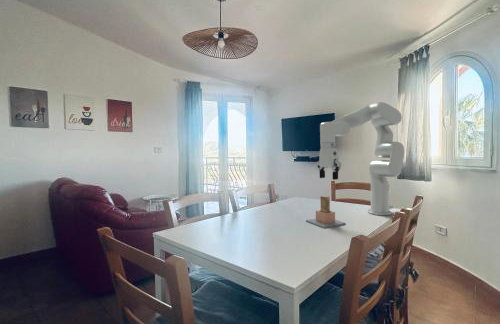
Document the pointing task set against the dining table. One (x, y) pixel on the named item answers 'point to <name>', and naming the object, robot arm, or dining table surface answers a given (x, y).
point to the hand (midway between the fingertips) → (328, 178)
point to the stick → (325, 204)
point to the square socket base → (325, 220)
